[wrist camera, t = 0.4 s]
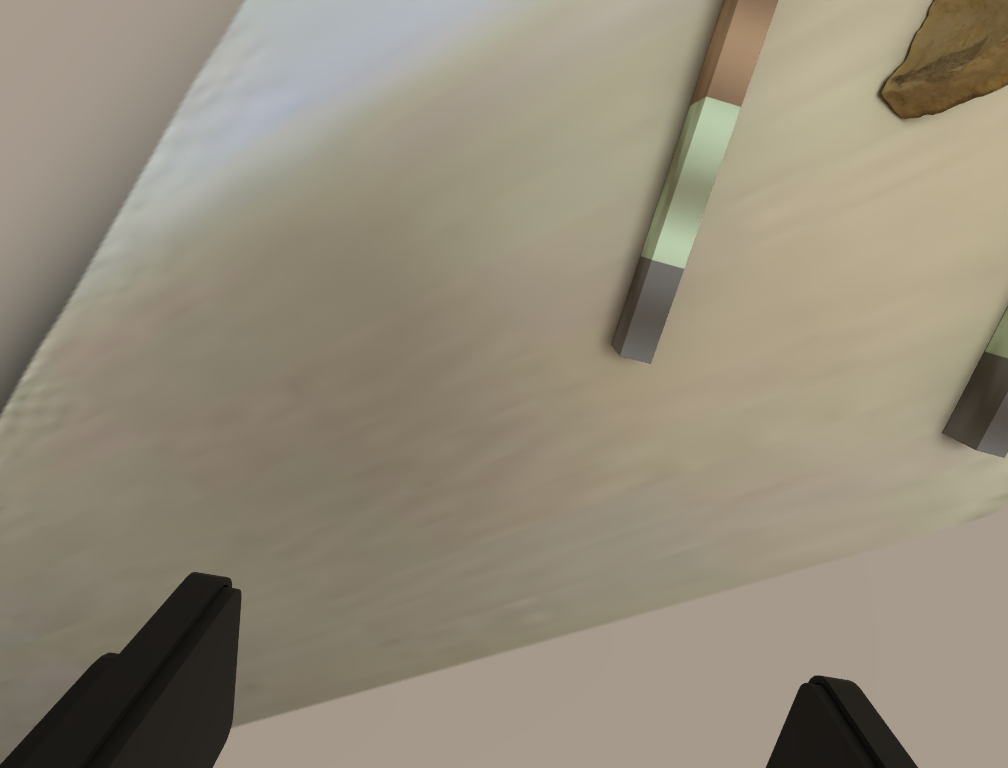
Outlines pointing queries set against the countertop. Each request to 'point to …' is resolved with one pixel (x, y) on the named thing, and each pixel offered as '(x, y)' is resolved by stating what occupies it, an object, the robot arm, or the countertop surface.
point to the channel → (701, 147)
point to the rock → (952, 58)
